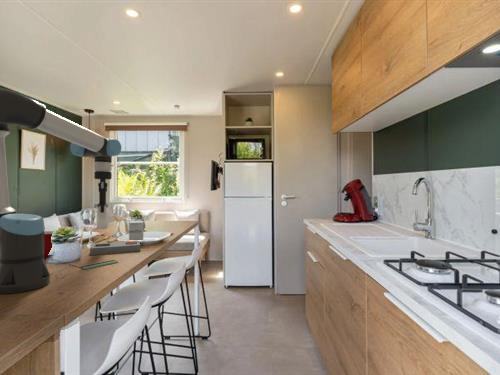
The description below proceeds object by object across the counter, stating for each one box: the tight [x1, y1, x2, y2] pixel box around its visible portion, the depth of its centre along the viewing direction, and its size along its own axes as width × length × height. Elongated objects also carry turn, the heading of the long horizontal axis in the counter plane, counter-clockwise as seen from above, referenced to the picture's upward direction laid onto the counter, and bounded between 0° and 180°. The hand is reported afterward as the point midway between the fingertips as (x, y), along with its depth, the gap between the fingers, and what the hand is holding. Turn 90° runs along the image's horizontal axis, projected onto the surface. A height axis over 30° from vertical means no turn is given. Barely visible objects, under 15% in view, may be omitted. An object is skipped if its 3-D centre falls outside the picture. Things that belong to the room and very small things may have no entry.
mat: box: [69, 259, 119, 271], centre depth 126 cm, size 14×14×1 cm
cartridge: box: [96, 203, 109, 230], centre depth 144 cm, size 5×5×12 cm
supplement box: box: [128, 220, 145, 241], centre depth 169 cm, size 7×7×13 cm
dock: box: [89, 240, 141, 256], centre depth 147 cm, size 22×12×4 cm, turn 114°
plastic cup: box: [44, 230, 55, 260], centre depth 136 cm, size 11×11×12 cm
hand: (102, 218), depth 144 cm, fingers closed on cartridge, 5 cm apart
